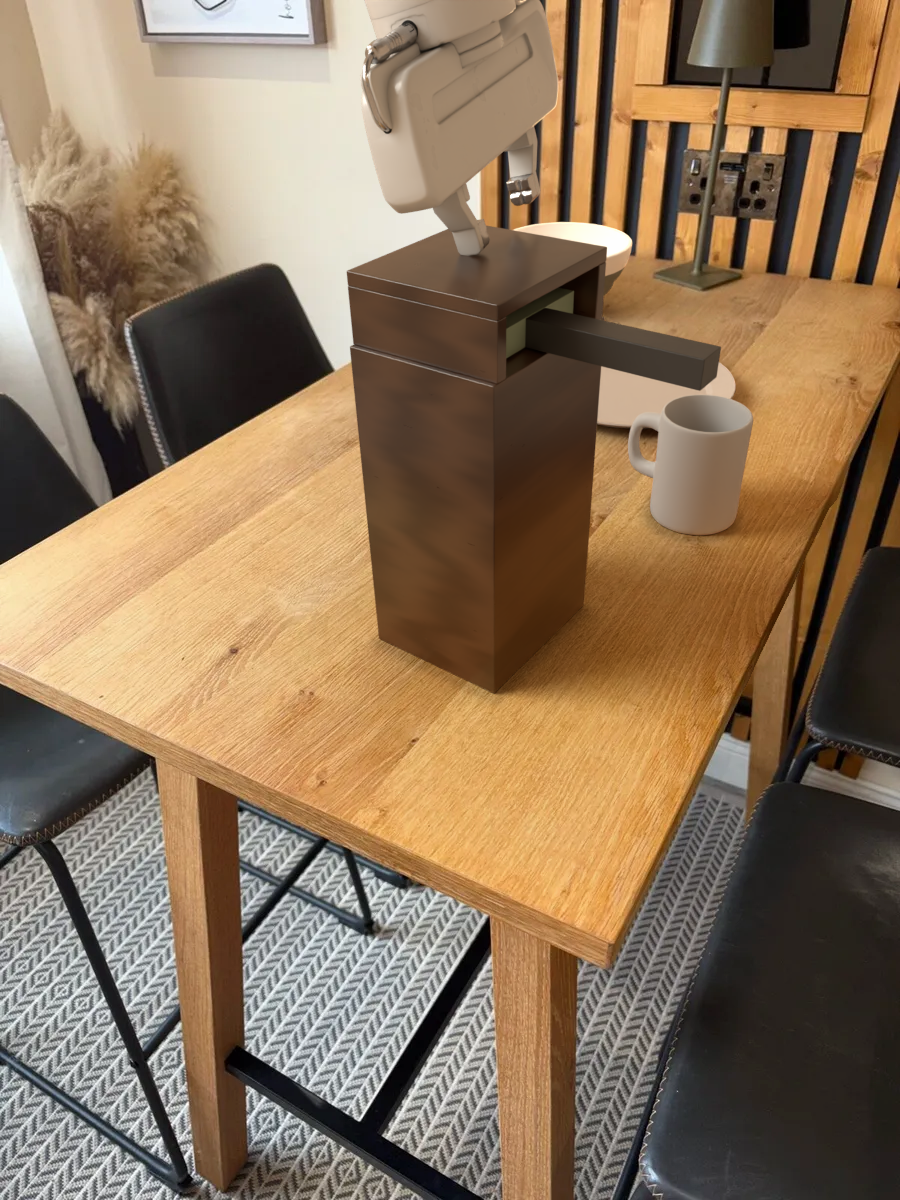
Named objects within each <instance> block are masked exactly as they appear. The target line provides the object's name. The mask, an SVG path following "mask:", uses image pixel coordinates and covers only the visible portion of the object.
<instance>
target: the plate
mask: <svg viewBox="0 0 900 1200" xmlns="http://www.w3.org/2000/svg"><path fill="white" fill-rule="evenodd" d="M736 387H737V385H736V381H735V377H734V375H733V374H732V372H731V371H730V370H729V369H728V368H727V367H726V366H725V365H724V364H722V363H721V362H720V361H719V364H718V371H717V377H716V378H715V379H714V380H713V381H711V382H710V383H709V384H708V385H707V386H705V387H704V388H703V389H702V390H701V391H698V390H694V389H690V388H686V387H682V386H678V385H674V384H670V383H666V382H662V381H658V380H654V379H650V378H646V377H642V376H638V375H634V374H630V373H626V372H622V371H618V370H614V369H610V368H606V367H602V366H601V377H600V391H599V405H598V418H597V426H603V427H608V428H616V429H629V430H631V426H632V424H633V422H634V420H635V419H636V417H637V416H639V415H640V414H642V413H644V412H656V413H661V412H662V409H663V407H664V406H665V405H666V404H667V403H668V402H669V401H671V400H673V399H676V398H678V397H682V396H688V395H715V396H721V397H725V398H729V399H732V400H733V398H734V396H735V393H736V390H737V389H736ZM643 429H651V428H650V427H644V428H643ZM643 429H642V430H643Z"/></svg>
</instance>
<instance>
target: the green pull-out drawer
mask: <svg viewBox="0 0 900 1200" xmlns="http://www.w3.org/2000/svg"><path fill="white" fill-rule="evenodd" d="M573 302H574V291H572V290H568V289H563V288H556V289H555V290H553V291H551V292H549V293H547V294H546V295H544V296H542V297H540V298H538V299H536V300H535V301H533V302H531V303H529V304H527V305H525V306H524V307H522V308H520V309H518V310H516V311H515V312H513V313H511V314H509V315H507V316H506V358H508V357H510V356H511V355H513V354H515V353H516V352H518V351H520V350H521V349H523V348H525V347H526V348H530V349H534V350H538V351H542V352H546V353H550V354H554V355H558V356H562V357H566V358H570V359H574V360H578V361H582V362H586V363H590V364H594V365H598V366H602V367H606V368H610V369H614V370H618V371H622V372H626V373H630V374H634V375H638V376H642V377H646V378H650V379H654V380H658V381H662V382H666V383H670V384H674V385H678V386H682V387H686V388H690V389H694V390H698V391H701V390H702V389H703V388H704V387H705V386H707V385H708V384H709V383H710V382H711V381H713V380H714V379H715V378H716V377H717V371H718V364H719V362H720V357H721V351H722V346H720V345H715V344H713V343H712V344H711V343H706V342H703V341H698V340H694V339H689V338H684V337H679V336H675V335H670V334H667V333H661V332H657V331H653V330H647V329H644V328H639V327H635V326H630V325H627V324H621V323H617V322H611V321H608V320H605V321H603V320H599V319H594V318H590V317H585V316H581V315H576V314H573Z"/></svg>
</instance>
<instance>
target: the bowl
mask: <svg viewBox="0 0 900 1200" xmlns="http://www.w3.org/2000/svg"><path fill="white" fill-rule="evenodd" d="M513 230H514V231H520V232H526V233H531V234H537V235H543V236H548V237H554V238H560V239H565V240H571V241H576V242H582V243H588V244H593V245H599V246H605V247H607V257H606V270H605V285H604V296H606V295H607V293H609V292H610V290H611V289H613V286H614V283H615V282H616V280H617V279H618V278H619V277H620V276H621V274H622V272H623V271H624V270H625V267H626V266H627V265H628V262H629V259H630V256H631V253H632V248H633V239H632V238H631V237H630V236H629V235H628V234H627V233H625V232H624V231H622V230H619V229H617V228H614V227H612V226H611V227H610V226H606V225H601V224H596V223H589V222H577V221H575V222H574V221H555V222H543V223H534V224H529V225H525V226H521V227H516V228H514V229H513Z"/></svg>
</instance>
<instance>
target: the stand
mask: <svg viewBox="0 0 900 1200" xmlns="http://www.w3.org/2000/svg"><path fill="white" fill-rule="evenodd" d="M486 228H487V234H488V235H489V239H490V241H489V244H488V245H487V246H486V247H485V248H484V249H483V250H482V251H481V252H480V253H479V254H477V255H470V256H466V255H460V253H459V252H458V249H457V246H456V243H455V240H454V237H453V234H452V232H451V231H450V230H449V229H448V228H447V229H444V230H442V231H440V232H437V233H435V234H433V235H430V236H428V237H425V238H422V239H420V240H417V241H416V242H413V243H411V244H407V245H406V246H403V247H401V248H398V249H396V250H393V251H391V252H388V253H386V254H384V255H381V256H379V257H377V258H374V259H372V260H369V261H366V262H364V263H362V264H360V265H357V266H355V267H352V268H350V269H348V270H346V281H347V292H348V302H349V303H348V304H349V312H350V324H351V334H352V343H353V344H352V345H350V346H349V353H350V363H351V371H352V383H353V393H354V403H355V413H356V423H357V432H358V433H357V434H358V442H359V453H360V462H361V472H362V473H361V475H362V483H363V492H364V502H365V503H364V504H365V513H366V523H367V532H368V533H367V534H368V540H369V541H368V543H369V544H368V545H369V553H370V562H371V573H372V582H373V583H372V585H373V592H374V593H373V594H374V603H375V604H374V605H375V612H376V613H375V615H376V623H377V633H378V639H379V640H381V641H383V642H386V643H388V644H389V645H391V646H394V647H396V648H397V649H400V650H402V651H404V652H406V653H408V654H410V655H413V656H415V657H416V658H418V659H421V660H422V661H424V662H427V663H429V664H430V665H433V666H434V667H437V668H439V669H441V670H444V671H446V672H448V673H450V674H452V675H454V676H456V677H458V678H461V679H462V680H464V681H466V682H469V683H471V684H473V685H475V686H477V687H480V688H481V689H483V690H485V691H488V692H490V693H492V694H496V693H497V692H498V691H499V690H500V689H501V688H502V687H503V686H504V685H505V684H506V683H507V682H508V681H509V680H510V679H511V678H512V677H513V676H514V675H515V674H516V673H517V672H518V671H519V670H520V669H521V668H522V667H523V666H524V665H525V664H526V663H527V662H528V661H529V660H530V659H531V658H532V657H533V656H534V655H535V654H536V653H537V652H538V651H539V650H540V649H541V648H542V647H543V646H544V645H545V644H546V643H547V642H548V641H549V640H550V639H551V638H553V636H554V635H556V633H557V632H558V631H559V630H561V628H562V627H563V626H564V625H565V624H567V623H568V622H569V620H570V619H572V617H573V616H575V614H577V613H578V612H579V610H581V609H582V607H584V606H585V597H586V596H585V595H586V583H587V582H586V581H587V570H588V569H587V568H588V557H589V556H588V555H589V554H588V553H589V552H588V551H589V540H590V529H591V528H590V527H591V526H590V525H591V513H592V500H593V499H592V498H593V486H594V485H593V484H594V471H595V458H596V445H597V444H596V443H597V431H598V430H597V429H598V425H597V418H598V405H599V391H600V377H601V366H598V365H594V364H590V363H586V362H582V361H578V360H574V359H570V358H566V357H562V356H558V355H554V354H550V353H546V352H542V351H538V350H534V349H530V348H526V347H525V348H523V349H521V350H520V351H518V352H516V353H515V354H513V355H511V356H510V357H508V358H506V316H507V315H509V314H511V313H513V312H515V311H516V310H518V309H520V308H522V307H524V306H525V305H527V304H529V303H531V302H533V301H535V300H536V299H538V298H540V297H542V296H544V295H546V294H547V293H549V292H551V291H553V290H555V289H556V288H563V289H568V290H572V291H574V302H573V314H576V315H581V316H585V317H590V318H594V319H599V320H603V321H606V318H605V317H604V316H603V313H604V296H605V295H604V285H605V270H606V257H607V247H605V246H599V245H593V244H588V243H582V242H576V241H571V240H565V239H560V238H554V237H548V236H543V235H537V234H531V233H526V232H520V231H514V229H510V228H509V229H508V228H503V227H497V226H492V225H486Z"/></svg>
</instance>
